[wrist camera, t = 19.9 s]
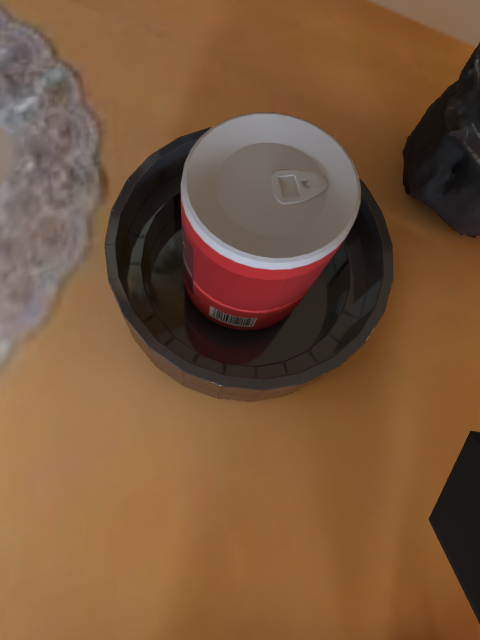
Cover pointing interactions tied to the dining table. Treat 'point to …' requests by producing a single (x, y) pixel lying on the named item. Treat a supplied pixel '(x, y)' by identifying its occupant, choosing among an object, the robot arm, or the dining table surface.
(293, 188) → the canned food
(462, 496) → the robot arm
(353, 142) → the dining table surface
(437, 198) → the dark grey pot
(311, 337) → the bowl
